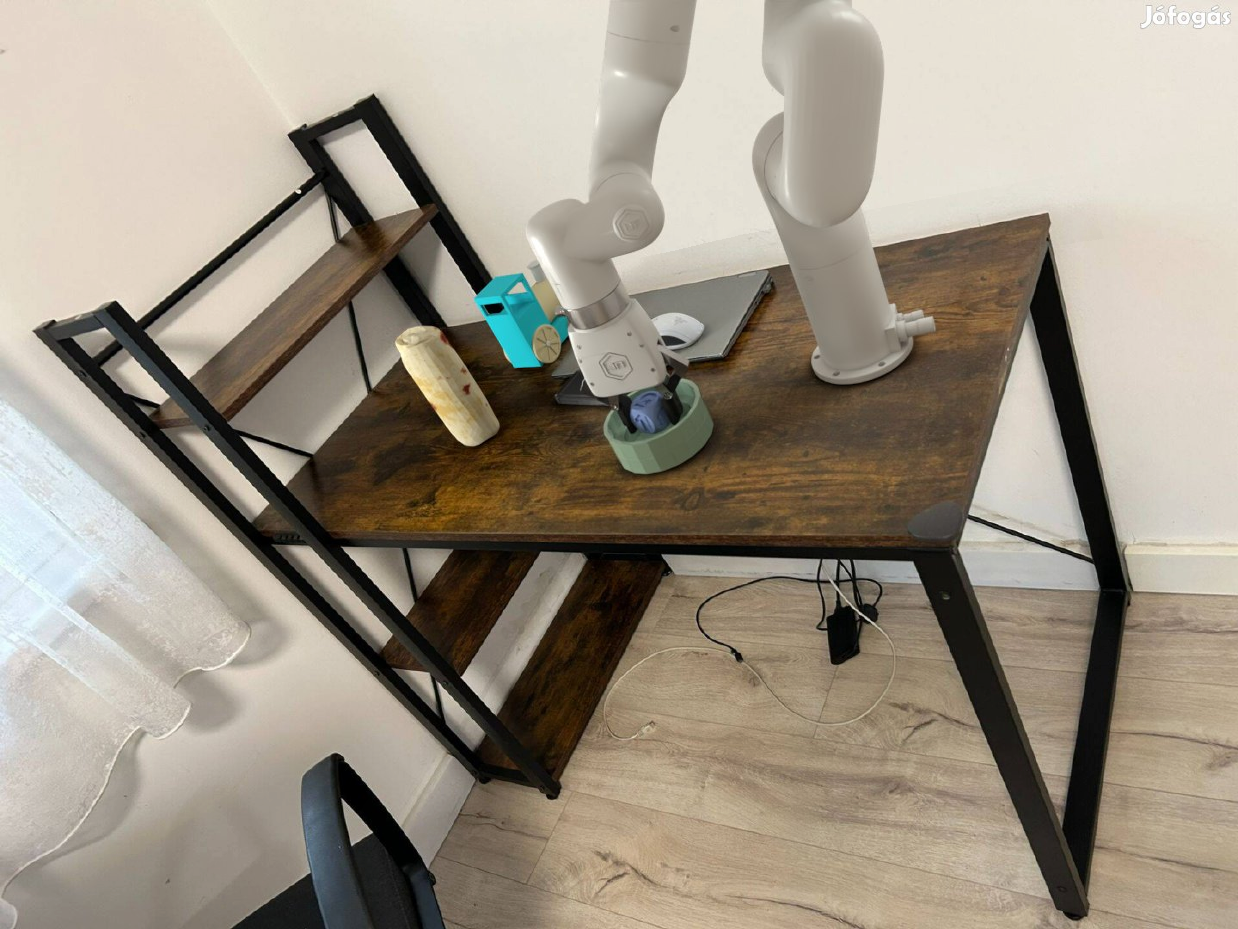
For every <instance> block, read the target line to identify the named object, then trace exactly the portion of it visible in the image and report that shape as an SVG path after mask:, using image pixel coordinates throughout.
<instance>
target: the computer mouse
mask: <svg viewBox="0 0 1238 929" xmlns="http://www.w3.org/2000/svg"><path fill="white" fill-rule="evenodd" d="M650 319H651V318H650ZM651 321H652V322H653V324H654V326H655V327H656V329H657V331H658V332H659V334H660V336H661V338H662V340H663V341H664V343H665V345H666V347H667V348H668V349H670V350H671V351H674V350H680V349H685V348H687V347H690V346H691V345H693V344H695V343H696V342H697V341H698V340H699V339H700V338H701V336H702V334H703V333H704V331H705V325H704V324H703V323H702V322H701V321H699V320H697V319H696V318H694V317H692V316H690V315H687V314H685V313H681V312H668V313H667V312H666V313H663V314H660V315H657V316H655V317H653V318H652V319H651ZM700 322H701V323H700Z"/></svg>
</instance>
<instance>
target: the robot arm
mask: <svg viewBox="0 0 1238 929" xmlns="http://www.w3.org/2000/svg"><path fill="white" fill-rule="evenodd" d="M697 1H698V0H609V5H608V6H609V7H608V16H607V25H606V34H605V42H604V50H603V59H602V66H601V73H600V79H599V89H598V98H597V103H596V110H595V116H594V122H593V129H592V130H593V132H592V137H591V138H592V139H591V147H590V156H589V164H588V165H589V166H588V175H587V190H586V191H587V192H586V193H587V200H588V202H586V203H583V202H582V201H581V200H580V199H576V198H565V199H560V200H557V201H554V202H551V203H550V204H548V205H546V206H544V207H542V208H541V209H540V210H538V211H536V212H535V213H534V214H533V215H532V216H531V217H530V218H529V220H527V222H526V225H525V229H524V232H525V238H526V240H527V243H528V244H529V246H530V249H531V250H532V253H533V254H534V256H535V258H536V260H538V262H539V264H540V266H541V267H542V269H543V271H544V273H545V275H546V277H547V279H548V281H549V282H550V284H551V286H552V288H553V290H554V292H555V294H556V296H557V298H558V299H559V301H560V303H561V305H560V306H556V308H555V312H556V315H557V316H558V317H562V316H564V317H567V319H568V321H569V323H571V324H570V325H569V327H568V334H569V335H568V338H569V341H570V344H571V347H572V350H573V353H574V357H575V358H576V362H577V365H578V367H579V369H581V371H582V373H583V376H584V380H583V383H582V386H581V389H580V391H581V393H582V394H585V395H587V396H590V397H593V398H594V397H595V398H596V399H597V400H598V401H600V402H602V403H604V404H607V405H609V406H608V407H609V409H610V411H611V410H613V411H617V413H618V415H619V417H620V419H621V420H622V422H623V424H624V425H625V426H627V428H628V430H629V432H630V434H634V433H635V432H636V431H637V429H638V428H637V427H636V426H635V425H634V424H633V423H632V421H631V418H630V407H631V404H632V400H631V398H630V397H628V396H624V393H629V392H633V391H637V390H642V389H646V388H650V387H654V388H655V389H656V390H657V391H658V392H659V393H660V394H661V395H662V397H663V399H662V405H663V407H664V409H665V411H666V413H667V415H668V418H669V420H670V422H671V424H672V425H676V424H677V423H678V422H679V420H680V417H681V414H682V413H683V405H682V403H681V401H680V399H679V397H678V395H677V392H676V388H677V386H678V384H679V382H680V380H681V379H682V378H683V379H684V376H685V375H686V374H687V372H688V371H689V367H690V365H691V361H690V359H688V358H686V357H685V356H683V355H680V354H679V353H677V352H675V351H674V350H670V349H668V348H667V347H666V345H665V343H664V341H663V340H662V338H661V336H660V334H659V332H658V331H657V329H656V327H655V326H654V324H653V322H652V321H651V318H650V316H649V315H648V313H647V312H646V310H645V309H644V307H643V306H641V304H640V303H639V302H638V301H637V299H636V298H635V297H633V298H632V297H630V296H629V292H628V291H627V288H626V287H625V285H624V283H623V280H622V279H621V276H620V275H619V272H618V270H617V268H616V265H615V264H614V261H613V258H614V259H615V258H617V257H621V256H625V255H629V254H632V253H635V252H638V251H640V250H643V249H645V248H647V247H648V246H650V245H651V244H653V243H654V242H655V241H656V240H657V239H658V238H659V236H660V235H661V233H662V231H663V229H664V226H665V222H666V221H665V219H666V213H665V208H664V205H663V202H662V200H661V197H660V196H659V193H657V190H656V189H655V187H654V185H653V183H652V178H653V172H654V170H653V169H654V164H655V155H656V149H657V143H658V138H659V132H660V128H661V124H662V121H663V117H664V115H665V112H666V110H667V108H668V106H669V104H670V102H671V101H672V100H673V99H674V97H675V96H676V95H677V93H678V92H679V90H680V89H681V87H682V84H683V83H684V80H685V77H686V74H687V69H688V63H689V57H690V56H689V54H690V48H691V40H692V33H693V29H694V28H693V27H694V20H695V16H696V15H695V14H696V9H697V3H698V2H697ZM763 5H764V6H763V28H762V29H763V30H762V44H761V66H762V69H763V73H764V76H765V78H766V79H767V81H768V83H769V84H770V86H771V87H772V88H773V89H775V90H776V91H777V92H778V94H780V95H782V96H783V97H784V98H783V101H784V102H783V111H780V112H779V113H777V114H775V115H773V116H772V117H771V118H769V119H768V120H767V121H766V122H765V123H764V124H763V126H762V127H761V128H760V130H759V131H758V133H757V135H756V137H755V140H754V142H753V146H752V152H751V166H752V170H753V175H754V179H755V181H756V184H757V186H758V189H759V192H760V194H761V196H762V199H763V201H764V203H765V205H766V208H767V209H768V213H769V215H770V217H771V219H772V221H773V223H774V226H775V230H776V231H777V233H778V236H779V239H780V241H781V244H782V248H783V251H784V253H785V255H786V258H787V261H788V262H787V263H788V265H789V268H790V271H791V273H792V276H793V279H794V282H795V284H796V287H797V290H798V293H799V296H800V299H801V301H802V304H803V307H804V310H805V312H806V315H807V319H808V322H809V324H810V327H811V330H812V332H813V335H814V338H815V341H816V344H817V346H816V347H815V349H814V350H813V352H812V355H811V358H810V359H811V360H810V363H811V364H810V365H811V367H812V370H813V372H814V374H815V376H817V377H818V379H820V380H822V381H824V382H825V383H830V384H834V385H853V384H861V383H865V382H868V381H871V380H874V379H877V378H879V377H881V376H884V375H886V374H887V373H890V372H891V371H893V370H894V369H896V368H897V367H899V366H900V365H901V364H902V363H903V362H904V361H905V360H906V359H907V357H908V356H909V355H910V353H911V351H912V350H913V346H914V337H915V336H922V335H927V334H931V333H935V332H937V330H936V323H935V319H934V316H933V315H931V316H926V317H925V314H924V310H923V309H919V310H915V311H912V312H908V313H905V314H904V313H903V312H898V309H897V305H896V303H895V302H894V303H890V302H889V298H888V295H887V291H886V288H885V285H884V282H883V278H882V275H881V271H880V269H879V264H878V261H877V257H876V255H875V251H874V247H873V244H872V240H871V237H870V232H869V228H868V225H867V221H866V218H865V214H864V212H863V209H862V205H863V203H864V202H865V200H866V199H867V196H868V193H869V192H870V189H871V185H872V182H873V179H874V178H873V177H874V173H875V168H876V167H875V166H876V159H877V151H878V141H879V134H880V133H879V132H880V125H881V124H880V123H881V113H882V103H883V95H884V94H883V93H884V83H885V82H884V80H885V59H884V51H883V46H882V42H881V39H880V36H879V34H878V31H877V30H876V28H875V25H873V23H872V22H871V21H870V20H869V19H868V18H867V17H866V16H865V15H864V14H863V13H861V12H860V11H858V10H856V9H854V8H853V0H764V3H763ZM667 366H669V367H671V368H673V370H672V372H671V373H669V372H668V371H667Z"/></svg>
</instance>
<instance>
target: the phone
mask: <svg viewBox="0 0 1238 929" xmlns="http://www.w3.org/2000/svg"><path fill="white" fill-rule="evenodd" d="M583 380H584V376H583V373H582V371H581V369H580V368H578V369H576V371H575V372H574V373H573V374H572V375H571V376H570V377H569V378H568V379H567V380H566V381H565V383H564V384H563V385H562V386H561V387H560V388H559V389H558V391H557V392H556V393H555V394H554V399H555V401H556V402H557V404H560V405H577V406H578V405H581V406H582V405H583V406H605V407H606V406H608V407H610V406H609V405H607V404H604V403H602V402H600V401H598V400H597V399H596V398H595V397H594V398H593V397H590V396H587V395H585V394H582V393H581V391H580V389H581V386H582V383H583ZM630 393H632V392H629V393H624V396H627V395H628V394H630Z"/></svg>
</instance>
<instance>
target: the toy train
mask: <svg viewBox="0 0 1238 929" xmlns="http://www.w3.org/2000/svg"><path fill="white" fill-rule="evenodd" d="M526 266H527V267H526V268H527V269H528V270H529V271H530V272H531V274H532V276H533V278H534V280H535V283H534V284H533V285H532V286H530V283H529V282H528V280H527V279H526V276H525V274H524V273H523V272H519V273H513V274H512V273H511V274H505V275H499V276H495V277H494V278H492V279H491V280H490V281H489V283H487V285H486V286H485V287H484V288H483V289H481V290H480V292H479V293H478V294H476V295H475V296H474V297H473V301H474V302H475V304H476V306H477V308H478V309H479V311H480V312H481V314H482V316H483V318H484V319H485V321H486V323H487V324H488V326H489V328H490V329H491V331H492V333H493V334H494V336H495V338H496V339H497V341H498V342H499V344H500V346H501V348H502V351H503V355H504V356H505V358H506V360H507V361H508V362H509V363H511V365H512V366H513V368H514V369H517V368H539V367H543V365H544V364H551V363H554V362H555V361H557V359H558V358H559V356H560V353H561V351H562V350H561V349H562V343H564V341H565V340H566V339H567V338H568V337H569V334H568V327H569V325H570V324H571V323H569V321H568V319H567V317H564V316H562V317H558V316H557V315H556V312H555V308H556V306H560V305H561V303H560V301H559V299H558V298H557V296H556V294H555V292H554V290H553V288H552V286H551V284H550V282H549V281H548V279H547V277H546V275H545V273H544V271H543V269H542V267H541V266H540V264H539V262H538V260H537V259H534V260H532V261H531V262H529V263H528V264H527V265H526ZM519 283H521V284H522V287H523V288H524V289H525V291H524V292H515V293H510V292H511V291H512V290H513V289H514V288H515V287H516V286H517V285H518V284H519ZM492 304H502V306H503V307H504V308H503V309H502V310H501V311H500V312H498V313H497V312H496V313H489V312H488V311H487V309H486V306H485V305H492Z"/></svg>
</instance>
